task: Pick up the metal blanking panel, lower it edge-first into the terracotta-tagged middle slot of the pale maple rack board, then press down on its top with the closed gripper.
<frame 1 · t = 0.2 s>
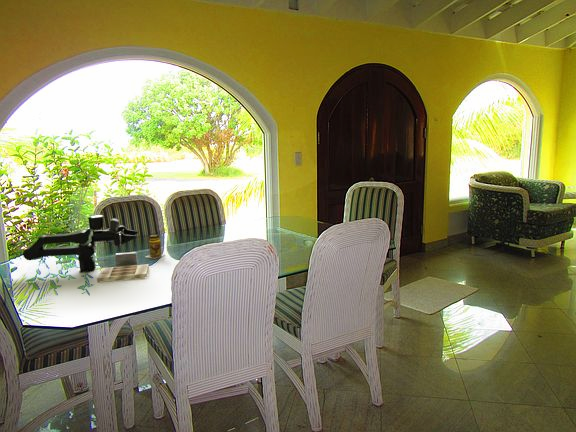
hand: (137, 234, 233), 17 cm above the table, tool horizontal, fingers open, 9 cm apart
rack: (124, 274, 224), on the table
condiment: (155, 256, 253), on the table
panel: (127, 266, 237), on the table
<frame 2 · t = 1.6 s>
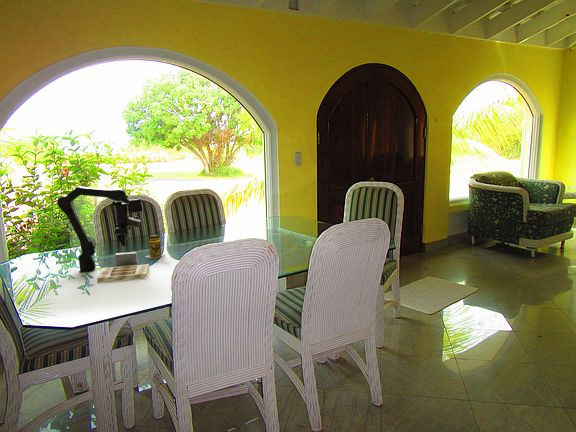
hand: (125, 243, 234), 12 cm above the table, tool pointing down, fingers open, 9 cm apart
nothing on the table moved.
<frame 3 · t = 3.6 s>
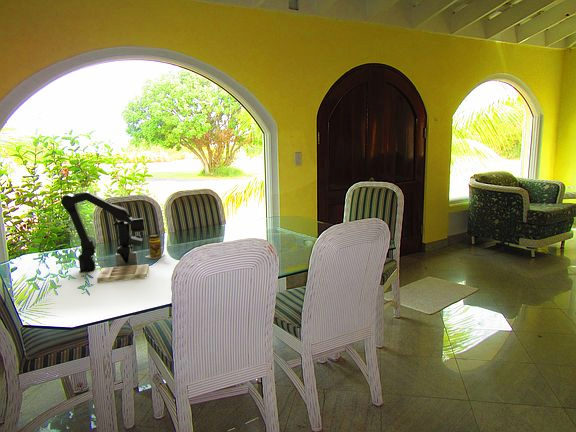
hand: (127, 262, 236), 2 cm above the table, tool pointing down, fingers closed on panel, 2 cm apart
panel: (127, 266, 237), on the table, touching gripper
everything else where it was.
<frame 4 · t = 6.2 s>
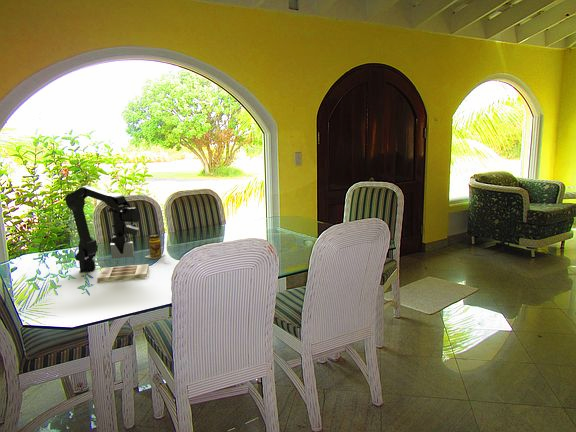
hand: (122, 252, 222), 11 cm above the table, tool pointing down, fingers closed on panel, 2 cm apart
panel: (123, 257, 222), point 9 cm above the table, touching gripper
everything else where it was.
when the fingers open (3 cm above the table, at t = 8.5 s): panel stays where it is, resting in rack.
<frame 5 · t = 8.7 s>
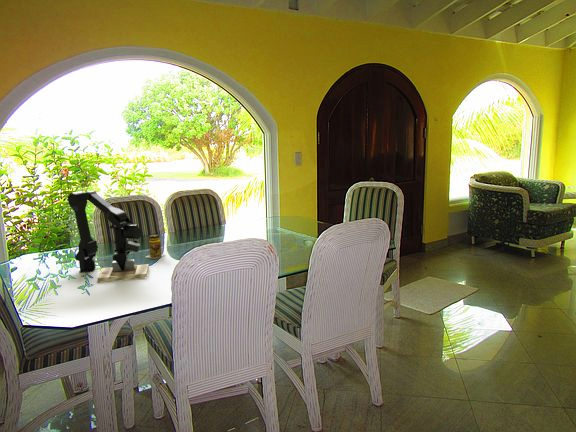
hand: (123, 268, 223), 3 cm above the table, tool pointing down, fingers open, 5 cm apart
panel: (124, 274, 224), resting in rack
everything else where it was.
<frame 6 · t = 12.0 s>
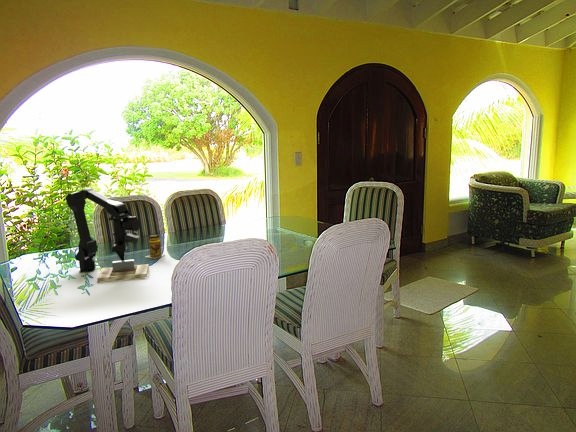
hand: (122, 260, 222), 7 cm above the table, tool pointing down, fingers closed
nothing on the table moved.
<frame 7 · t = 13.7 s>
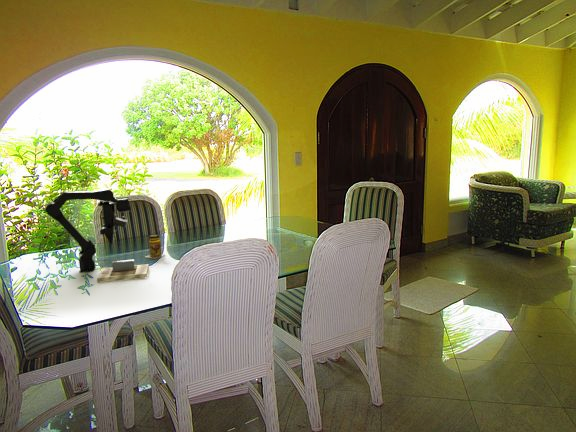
hand: (111, 243, 235), 12 cm above the table, tool pointing down, fingers closed
nothing on the table moved.
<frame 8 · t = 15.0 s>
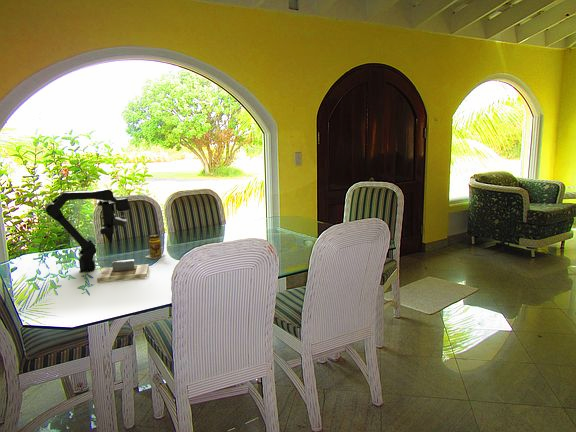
hand: (111, 243, 235), 12 cm above the table, tool pointing down, fingers closed
nothing on the table moved.
at the end: panel 0.1 cm off-centre on the rack, point 0.0 cm above the rack's base; panel tilted 0°; the gripper is holding nothing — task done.
